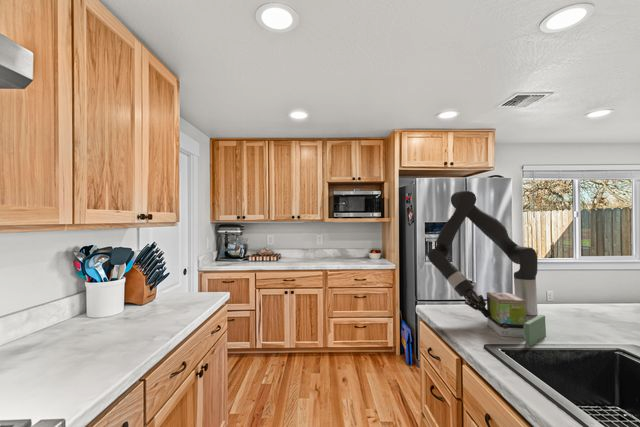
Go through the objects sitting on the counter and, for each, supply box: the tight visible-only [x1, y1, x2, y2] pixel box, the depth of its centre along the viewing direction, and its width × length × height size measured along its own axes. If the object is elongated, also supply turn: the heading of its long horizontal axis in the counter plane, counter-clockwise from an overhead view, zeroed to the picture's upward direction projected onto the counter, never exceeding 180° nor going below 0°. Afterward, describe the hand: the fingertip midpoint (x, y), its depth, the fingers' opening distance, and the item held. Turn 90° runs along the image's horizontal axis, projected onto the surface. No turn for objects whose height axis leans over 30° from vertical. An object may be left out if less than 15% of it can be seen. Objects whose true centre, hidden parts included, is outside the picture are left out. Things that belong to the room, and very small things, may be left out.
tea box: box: [486, 292, 527, 338], centre depth 129 cm, size 15×10×15 cm, turn 169°
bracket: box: [523, 314, 547, 347], centre depth 118 cm, size 17×2×8 cm, turn 128°
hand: (489, 316), depth 131 cm, fingers closed
